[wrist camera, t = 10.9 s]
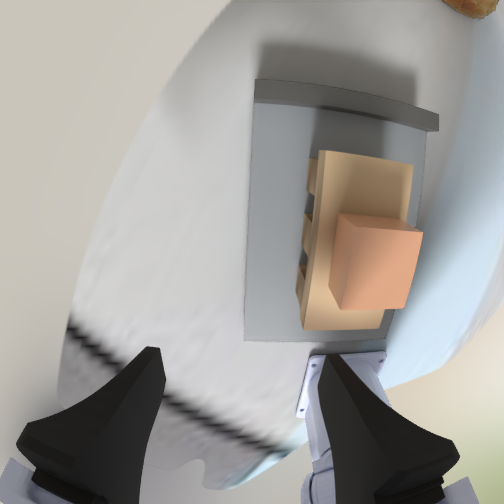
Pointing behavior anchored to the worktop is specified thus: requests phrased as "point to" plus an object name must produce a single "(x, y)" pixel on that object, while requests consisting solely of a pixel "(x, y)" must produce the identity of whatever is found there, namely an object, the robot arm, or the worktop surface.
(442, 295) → the worktop surface
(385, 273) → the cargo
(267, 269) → the dock
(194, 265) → the worktop surface
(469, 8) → the brown rounded lump
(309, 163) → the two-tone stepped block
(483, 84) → the worktop surface
